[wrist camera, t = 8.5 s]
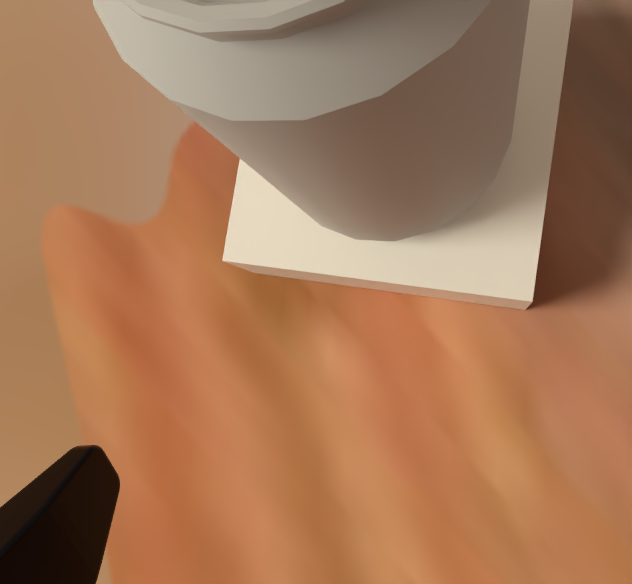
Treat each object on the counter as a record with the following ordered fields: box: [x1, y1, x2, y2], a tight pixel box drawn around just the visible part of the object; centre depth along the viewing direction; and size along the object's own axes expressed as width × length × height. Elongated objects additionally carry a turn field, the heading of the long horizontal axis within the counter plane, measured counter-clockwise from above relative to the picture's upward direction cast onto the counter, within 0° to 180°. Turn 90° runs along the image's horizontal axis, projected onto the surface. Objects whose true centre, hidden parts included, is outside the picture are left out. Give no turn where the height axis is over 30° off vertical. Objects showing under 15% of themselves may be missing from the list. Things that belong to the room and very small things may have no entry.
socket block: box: [222, 0, 574, 310], centre depth 21 cm, size 10×10×3 cm
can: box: [93, 0, 530, 241], centre depth 13 cm, size 8×8×12 cm
